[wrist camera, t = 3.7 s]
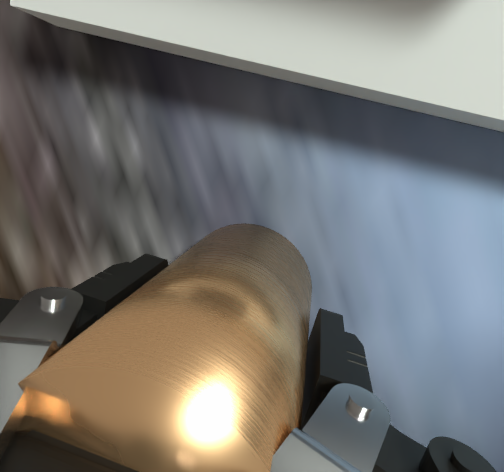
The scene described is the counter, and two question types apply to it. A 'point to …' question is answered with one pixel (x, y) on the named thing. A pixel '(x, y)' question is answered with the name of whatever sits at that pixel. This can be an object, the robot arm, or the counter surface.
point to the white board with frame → (324, 44)
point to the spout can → (188, 363)
